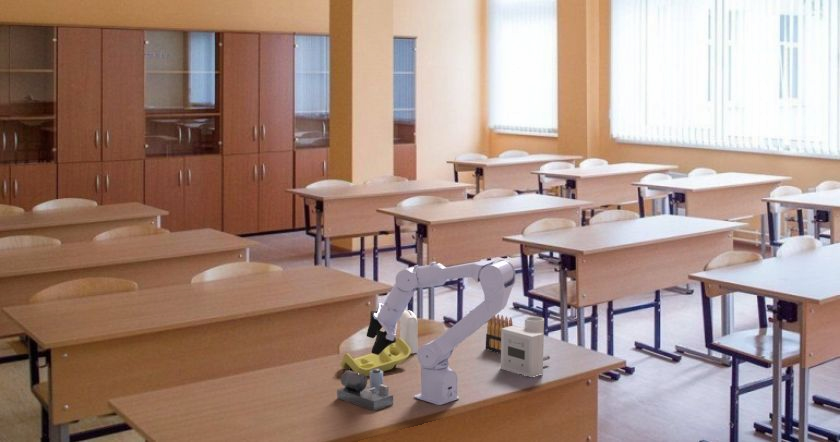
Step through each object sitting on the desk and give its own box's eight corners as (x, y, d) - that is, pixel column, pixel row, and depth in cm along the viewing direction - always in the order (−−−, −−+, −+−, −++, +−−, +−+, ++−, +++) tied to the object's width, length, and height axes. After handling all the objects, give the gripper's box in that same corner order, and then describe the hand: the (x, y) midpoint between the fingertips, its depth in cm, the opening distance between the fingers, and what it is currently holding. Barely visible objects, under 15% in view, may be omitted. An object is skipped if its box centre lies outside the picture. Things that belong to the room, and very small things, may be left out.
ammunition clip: (485, 349, 312) (485, 312, 310) (489, 348, 313) (490, 311, 311) (510, 356, 304) (510, 318, 302) (514, 355, 305) (515, 317, 303)
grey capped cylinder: (385, 391, 269) (385, 369, 268) (376, 394, 267) (376, 372, 266) (376, 388, 272) (376, 366, 271) (367, 391, 269) (367, 369, 268)
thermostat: (500, 368, 291) (501, 318, 289) (532, 360, 300) (534, 311, 298) (531, 378, 282) (532, 326, 280) (563, 369, 291) (565, 319, 289)
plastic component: (362, 371, 280) (343, 349, 286) (357, 390, 283) (338, 369, 290) (417, 354, 292) (397, 334, 298) (411, 373, 296) (392, 352, 302)
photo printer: (398, 345, 315) (398, 307, 313) (411, 345, 316) (412, 307, 314) (405, 354, 305) (405, 315, 303) (418, 353, 306) (419, 314, 304)
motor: (393, 404, 258) (393, 378, 257) (373, 410, 253) (373, 384, 252) (354, 391, 269) (354, 367, 268) (334, 397, 264) (334, 372, 263)
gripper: (376, 287, 270) (355, 325, 275) (386, 317, 258) (363, 357, 263) (399, 294, 273) (377, 332, 278) (410, 324, 261) (387, 363, 266)
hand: (372, 345), depth 271 cm, fingers open, 7 cm apart
